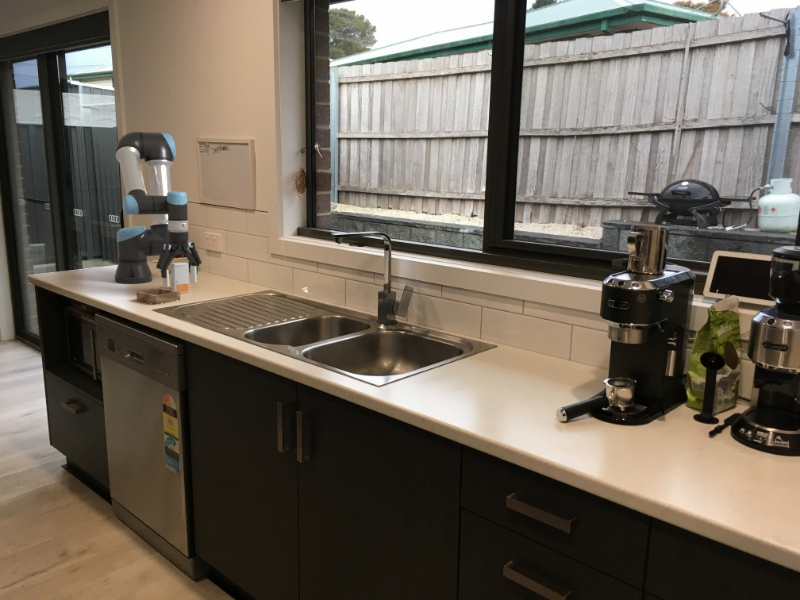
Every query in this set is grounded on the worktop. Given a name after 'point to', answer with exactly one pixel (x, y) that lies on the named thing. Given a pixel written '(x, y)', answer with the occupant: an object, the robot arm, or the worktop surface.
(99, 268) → the worktop surface
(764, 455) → the worktop surface
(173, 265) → the skincare box
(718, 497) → the worktop surface
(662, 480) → the worktop surface
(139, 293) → the rectangular wooden frame
